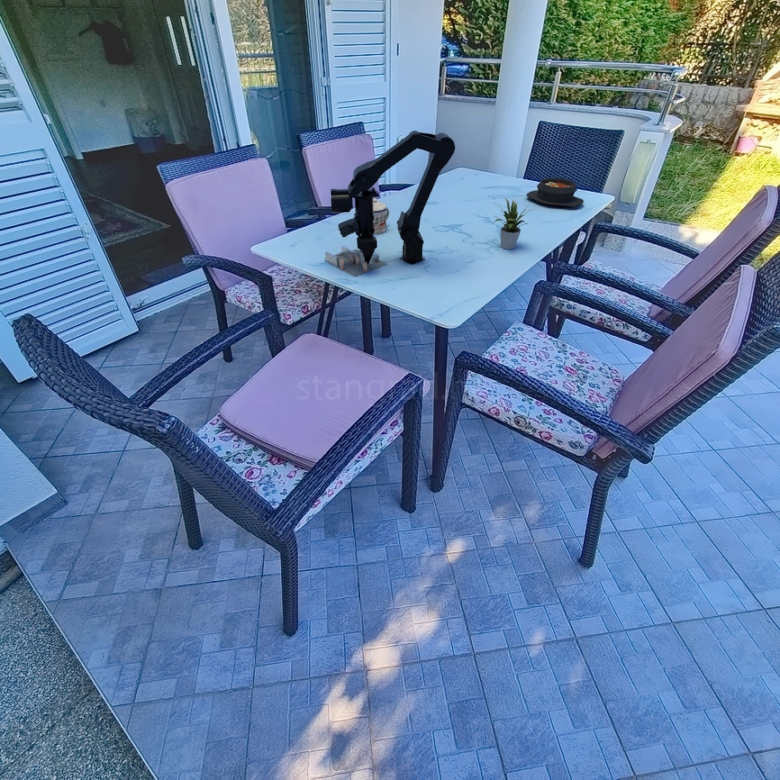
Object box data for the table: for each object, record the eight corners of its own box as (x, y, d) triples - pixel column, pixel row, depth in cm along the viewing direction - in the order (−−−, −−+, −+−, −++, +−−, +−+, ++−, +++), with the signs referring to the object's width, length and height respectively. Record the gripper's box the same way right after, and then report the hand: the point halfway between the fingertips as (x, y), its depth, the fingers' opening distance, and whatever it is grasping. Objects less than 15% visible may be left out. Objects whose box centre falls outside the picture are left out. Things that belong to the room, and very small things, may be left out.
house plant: (478, 240, 165) (483, 194, 155) (510, 235, 169) (518, 190, 158) (498, 255, 155) (506, 207, 144) (532, 249, 159) (542, 202, 148)
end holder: (355, 260, 151) (354, 251, 149) (337, 266, 147) (336, 258, 145) (343, 254, 155) (342, 245, 153) (325, 260, 151) (324, 251, 149)
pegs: (386, 264, 149) (386, 255, 147) (353, 276, 142) (353, 267, 140) (369, 255, 154) (369, 247, 152) (337, 267, 147) (336, 258, 145)
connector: (371, 258, 152) (371, 241, 148) (372, 263, 149) (372, 246, 145) (360, 259, 152) (359, 242, 148) (360, 264, 149) (359, 246, 145)
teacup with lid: (374, 236, 169) (373, 204, 161) (358, 230, 174) (357, 199, 166) (396, 228, 175) (397, 197, 168) (380, 222, 180) (380, 192, 173)
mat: (387, 265, 149) (387, 264, 149) (355, 278, 142) (354, 276, 142) (356, 250, 159) (356, 248, 158) (324, 261, 152) (324, 260, 151)
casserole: (588, 202, 198) (594, 182, 192) (572, 214, 187) (577, 193, 181) (536, 192, 210) (540, 172, 204) (518, 202, 199) (521, 182, 194)
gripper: (337, 202, 146) (341, 248, 156) (339, 223, 132) (343, 272, 142) (371, 201, 147) (372, 247, 157) (376, 221, 133) (378, 270, 143)
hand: (366, 258), depth 150 cm, fingers open, 8 cm apart
